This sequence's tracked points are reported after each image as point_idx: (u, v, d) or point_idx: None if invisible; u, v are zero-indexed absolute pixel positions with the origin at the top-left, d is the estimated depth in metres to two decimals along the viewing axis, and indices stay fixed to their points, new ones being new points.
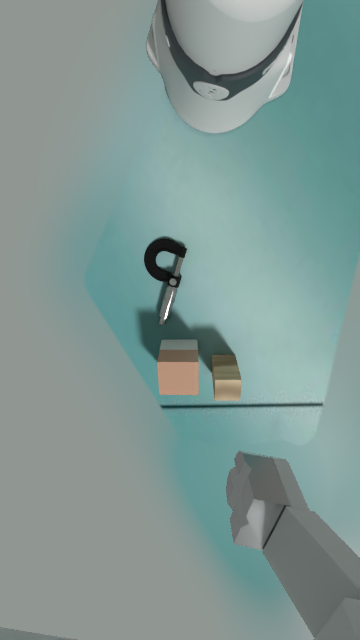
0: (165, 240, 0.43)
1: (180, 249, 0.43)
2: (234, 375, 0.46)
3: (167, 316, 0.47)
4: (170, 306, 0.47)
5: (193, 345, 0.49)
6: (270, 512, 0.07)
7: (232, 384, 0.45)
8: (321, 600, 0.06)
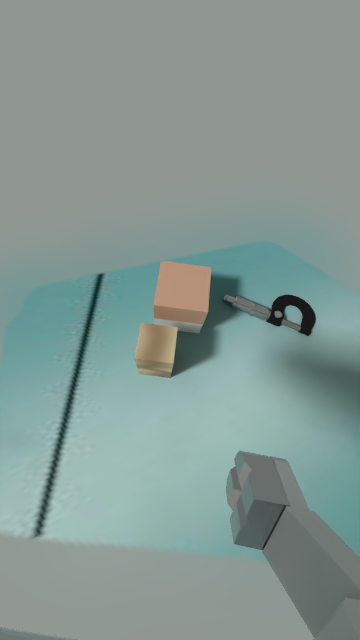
0: (314, 317, 0.43)
1: (308, 328, 0.41)
2: None
3: (235, 302, 0.41)
4: (247, 307, 0.41)
5: None
6: (270, 512, 0.07)
7: (167, 349, 0.31)
8: (321, 600, 0.06)
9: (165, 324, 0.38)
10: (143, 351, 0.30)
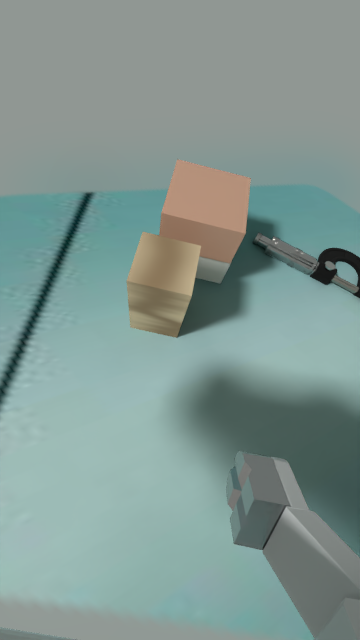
0: None
1: None
2: None
3: (272, 244, 0.30)
4: (288, 253, 0.30)
5: None
6: (270, 512, 0.07)
7: (182, 274, 0.18)
8: (321, 600, 0.06)
9: None
10: (142, 272, 0.18)
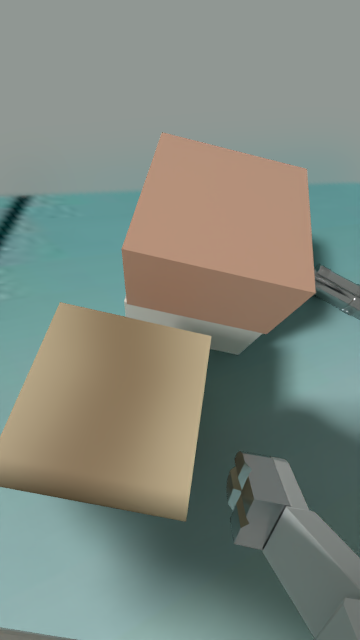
0: None
1: None
2: None
3: (319, 279, 0.18)
4: (345, 294, 0.18)
5: None
6: (270, 512, 0.07)
7: (161, 438, 0.06)
8: (321, 600, 0.06)
9: (156, 323, 0.14)
10: (39, 442, 0.06)
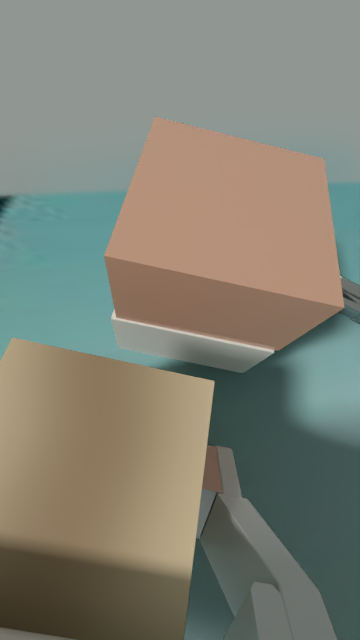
0: None
1: None
2: None
3: None
4: (358, 302, 0.16)
5: None
6: (203, 499, 0.07)
7: (144, 539, 0.04)
8: (243, 586, 0.06)
9: (149, 341, 0.12)
10: None
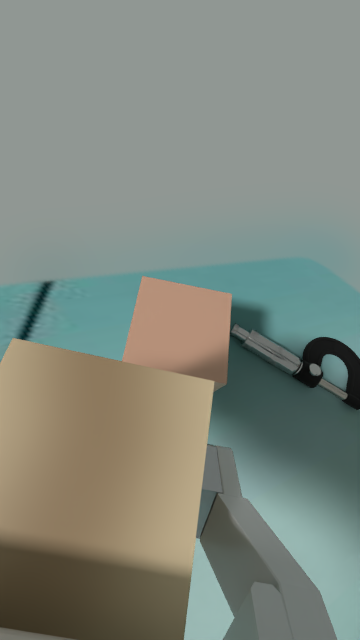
0: None
1: (359, 398, 0.26)
2: None
3: (249, 341, 0.26)
4: (267, 352, 0.26)
5: None
6: (203, 499, 0.07)
7: (144, 539, 0.04)
8: (243, 586, 0.06)
9: None
10: None
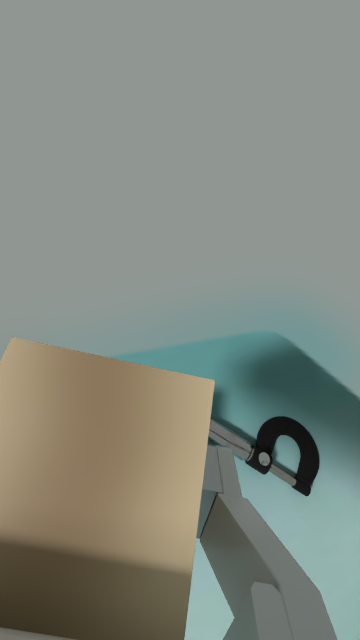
0: (317, 461, 0.28)
1: (307, 484, 0.27)
2: None
3: None
4: (219, 440, 0.27)
5: None
6: (203, 499, 0.07)
7: (144, 539, 0.04)
8: (243, 586, 0.06)
9: None
10: None
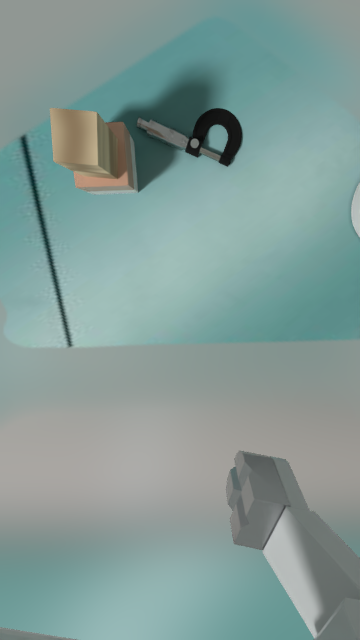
0: (239, 140, 0.38)
1: (228, 158, 0.39)
2: (101, 157, 0.27)
3: (149, 131, 0.37)
4: (162, 137, 0.38)
5: (135, 185, 0.39)
6: (270, 512, 0.07)
7: (88, 146, 0.26)
8: (321, 600, 0.06)
9: (101, 192, 0.40)
10: (61, 151, 0.26)
